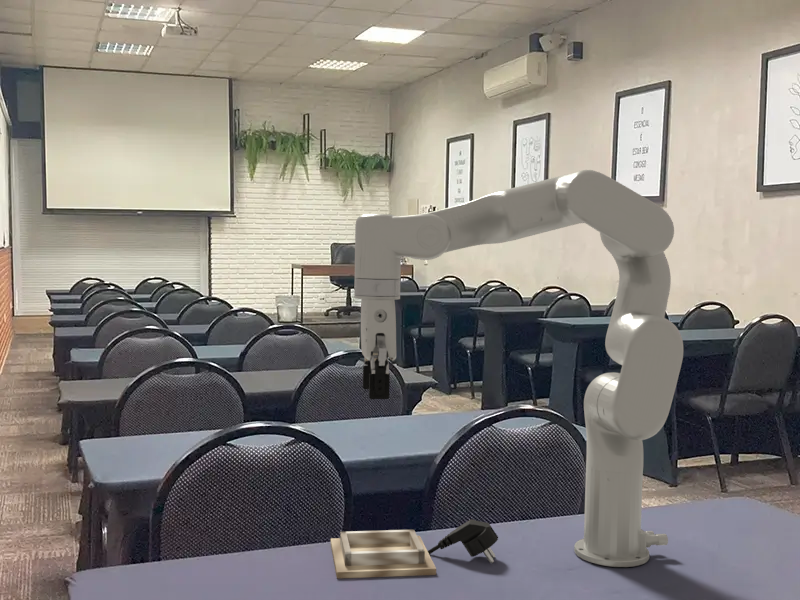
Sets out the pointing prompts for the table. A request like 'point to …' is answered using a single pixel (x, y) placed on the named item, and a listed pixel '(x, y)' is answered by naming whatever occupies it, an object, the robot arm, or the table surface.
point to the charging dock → (380, 554)
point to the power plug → (471, 539)
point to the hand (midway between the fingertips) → (375, 393)
